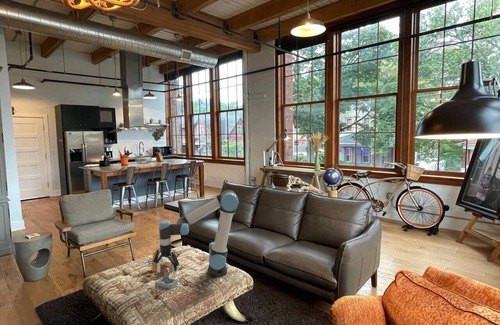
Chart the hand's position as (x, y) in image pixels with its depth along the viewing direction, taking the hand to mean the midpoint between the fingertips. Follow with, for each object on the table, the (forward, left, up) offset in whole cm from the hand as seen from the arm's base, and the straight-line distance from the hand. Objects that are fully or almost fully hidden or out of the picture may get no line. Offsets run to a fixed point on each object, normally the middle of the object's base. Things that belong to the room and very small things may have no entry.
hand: (166, 273), depth 203 cm
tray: (0, 0, -8) cm, 8 cm away
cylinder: (+22, -15, -8) cm, 28 cm away
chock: (+12, -15, -8) cm, 21 cm away
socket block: (+17, -1, -8) cm, 19 cm away
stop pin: (0, 0, -7) cm, 7 cm away
